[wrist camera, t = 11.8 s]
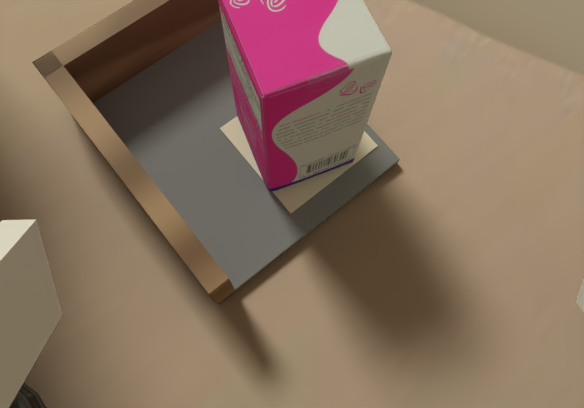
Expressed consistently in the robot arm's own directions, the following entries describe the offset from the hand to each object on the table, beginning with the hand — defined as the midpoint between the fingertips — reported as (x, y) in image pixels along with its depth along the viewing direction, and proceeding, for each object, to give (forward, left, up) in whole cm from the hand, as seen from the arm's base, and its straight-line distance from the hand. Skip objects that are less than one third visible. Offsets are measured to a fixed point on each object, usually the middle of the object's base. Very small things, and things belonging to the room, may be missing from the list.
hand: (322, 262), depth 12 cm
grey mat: (-11, +4, -18) cm, 21 cm away
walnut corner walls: (-11, +4, -18) cm, 21 cm away
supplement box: (-8, +7, -17) cm, 20 cm away
